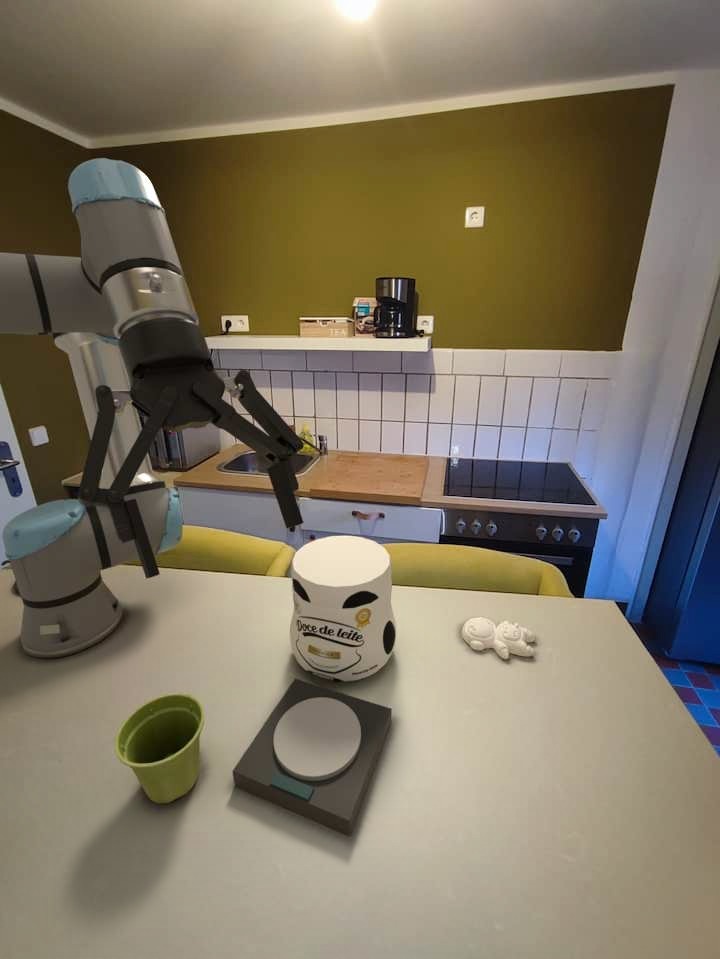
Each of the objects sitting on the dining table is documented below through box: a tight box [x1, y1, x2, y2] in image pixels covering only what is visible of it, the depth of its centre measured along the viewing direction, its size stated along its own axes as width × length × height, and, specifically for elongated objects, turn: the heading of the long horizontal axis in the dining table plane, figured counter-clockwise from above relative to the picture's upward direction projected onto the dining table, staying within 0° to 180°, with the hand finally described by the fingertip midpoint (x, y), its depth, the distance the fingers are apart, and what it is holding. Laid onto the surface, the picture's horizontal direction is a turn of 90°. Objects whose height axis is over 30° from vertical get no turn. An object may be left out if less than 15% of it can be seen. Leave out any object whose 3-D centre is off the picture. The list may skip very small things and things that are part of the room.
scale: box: [231, 677, 393, 837], centre depth 55 cm, size 15×15×3 cm
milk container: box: [289, 535, 397, 684], centre depth 69 cm, size 17×17×18 cm
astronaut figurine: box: [461, 616, 536, 660], centre depth 74 cm, size 9×12×3 cm
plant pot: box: [114, 692, 206, 804], centre depth 50 cm, size 9×9×9 cm
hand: (231, 549), depth 39 cm, fingers open, 13 cm apart
